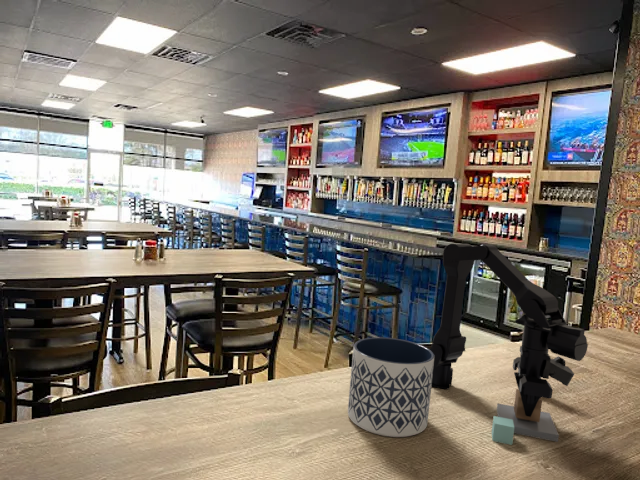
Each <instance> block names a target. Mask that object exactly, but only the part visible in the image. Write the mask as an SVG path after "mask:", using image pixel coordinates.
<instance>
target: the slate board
mask: <svg viewBox="0 0 640 480" xmlns="http://www.w3.org/2000/svg"><path fill="white" fill-rule="evenodd" d="M496 414H497V417H502V418H507V419H512V420H513V423H514V434H516V435H517V434H518V435H523V436H527V437H531V438H537V439H542V440H546V441H551V442H552V441H553V442H557V443H558V442H559V436H560V434H559V432H558V430H557V428H556V425H555V423H554V420H553V418H552V416H551V413H550V412H545V411H541V413H540V421H539V422H536V421H530V420H525V419H520V418H516V416H515V412H514V405H510V404H509V405H508V404H502V403H498V402H497V403H496Z"/></svg>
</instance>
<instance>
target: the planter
mask: <svg viewBox="0 0 640 480" xmlns="http://www.w3.org/2000/svg"><path fill="white" fill-rule="evenodd" d="M429 349H430V348H428V347H426V346H424V345H422V344H419V343H417V342H413V341H409V340H407V339H399V338H394V337H393V338H392V337H381V336H380V337H366V338H363V339H358V340H357V341H356V342H355V343H354V344H353V348H352V350H353V351H352V359H351V360H352V361H351V369H350V370H351V371H350V380H349V391H348V404H347V415H348V417H349V419H350V420H351V422H353V424H355V425H356V426H357V427H359V428H360V429H363V430H364V431H367V432H369V433H372V434H373V435H374V434H375V435H379V436H384V437H392V438H406V437H412V436H415V435H418V434H420V433H422V432H423V431H424V430H426V428H427V426H428V421H429V411H430V402H431V393H432V376H433V366H434V354H433V352H432V351H431V350H429Z"/></svg>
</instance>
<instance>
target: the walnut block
mask: <svg viewBox="0 0 640 480" xmlns="http://www.w3.org/2000/svg"><path fill="white" fill-rule="evenodd" d="M514 396H515V397H514V404H513V406H514V412H515V416H516V418H520V419H525V420H530V421H536V422H539V421H540V413H541V412H542V405H543V400H542V397H541V398H540V399H539V400H538V402H537V404H536V406H535V409H534V411H533V413H532V415H531V417H529V416H526V415H525V411H524V407H523V403H522V399H521V395H520V391H519V389H518V388H516V389H515V395H514Z"/></svg>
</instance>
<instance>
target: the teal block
mask: <svg viewBox="0 0 640 480" xmlns="http://www.w3.org/2000/svg"><path fill="white" fill-rule="evenodd" d="M514 434H515V433H514V423H513V420H512V419H507V418H502V417H498V415H497V416H496V415H493V419H492V427H491V438H492V442H496V443H501V444H505V445H510V446H512V445H513V440H514Z"/></svg>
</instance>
